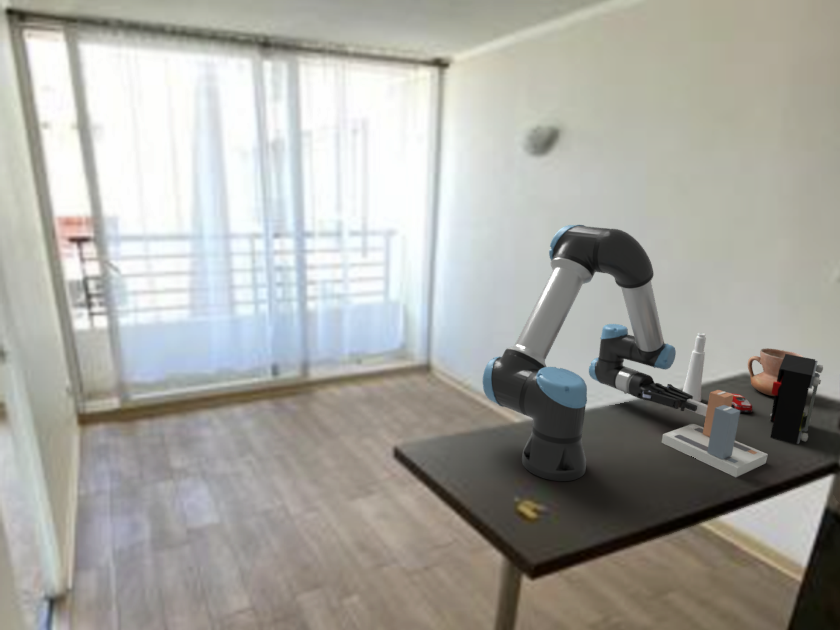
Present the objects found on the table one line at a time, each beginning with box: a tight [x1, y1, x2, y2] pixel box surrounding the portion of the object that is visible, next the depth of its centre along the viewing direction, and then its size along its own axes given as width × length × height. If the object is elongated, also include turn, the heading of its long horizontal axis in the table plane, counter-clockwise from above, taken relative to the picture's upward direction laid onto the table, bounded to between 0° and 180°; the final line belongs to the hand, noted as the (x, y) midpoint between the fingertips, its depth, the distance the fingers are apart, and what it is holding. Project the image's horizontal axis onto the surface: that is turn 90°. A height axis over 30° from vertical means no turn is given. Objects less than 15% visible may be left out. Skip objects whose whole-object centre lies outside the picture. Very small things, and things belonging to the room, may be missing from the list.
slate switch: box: [707, 405, 741, 459], centre depth 138 cm, size 4×4×12 cm
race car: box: [727, 392, 753, 414], centre depth 177 cm, size 13×5×4 cm, turn 179°
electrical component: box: [769, 354, 824, 445], centre depth 158 cm, size 18×10×20 cm, turn 143°
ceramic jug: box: [747, 347, 804, 397], centre depth 188 cm, size 18×14×14 cm
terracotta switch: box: [703, 389, 733, 437], centre depth 148 cm, size 4×4×12 cm
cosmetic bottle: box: [682, 332, 707, 402], centre depth 178 cm, size 6×6×22 cm
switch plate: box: [661, 422, 768, 478], centre depth 145 cm, size 20×14×3 cm
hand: (710, 412), depth 150 cm, fingers closed
